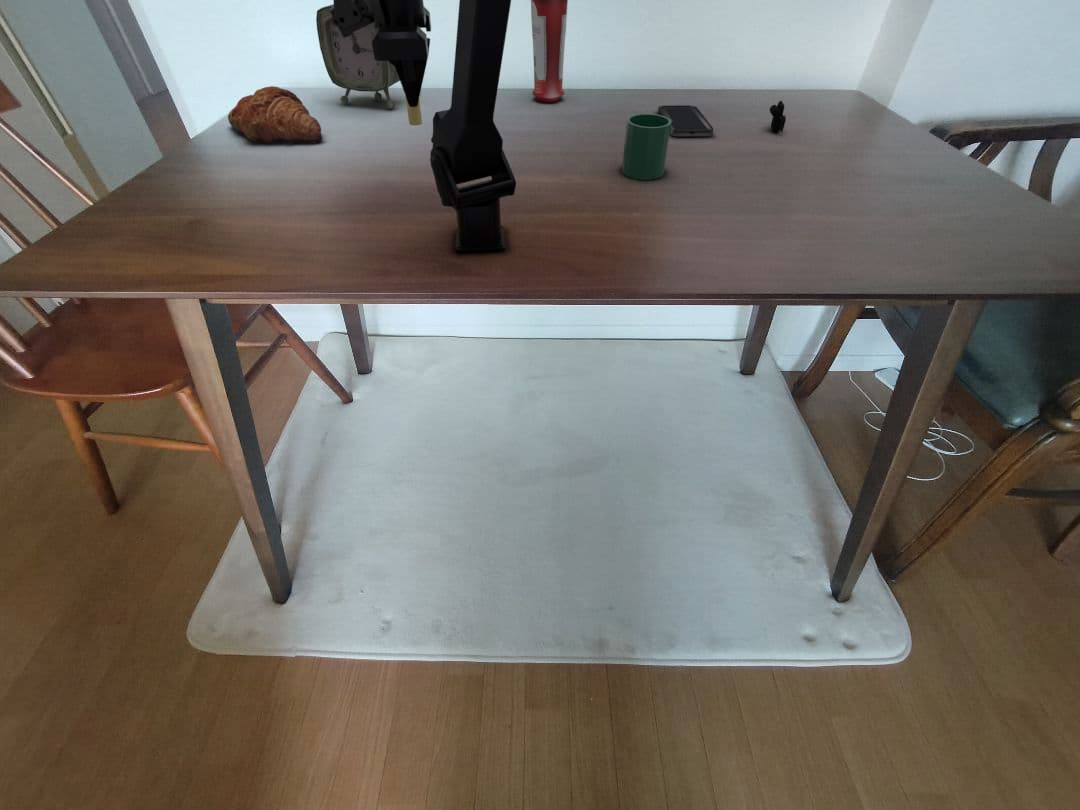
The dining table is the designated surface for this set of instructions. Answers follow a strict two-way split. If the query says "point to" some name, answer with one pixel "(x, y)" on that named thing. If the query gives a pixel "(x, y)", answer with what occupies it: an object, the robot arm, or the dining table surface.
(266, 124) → the pastry
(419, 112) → the yellow rod
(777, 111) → the black figurine
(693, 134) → the phone
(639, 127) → the cup
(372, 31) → the tabletop clock
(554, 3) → the liquor
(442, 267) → the dining table surface
